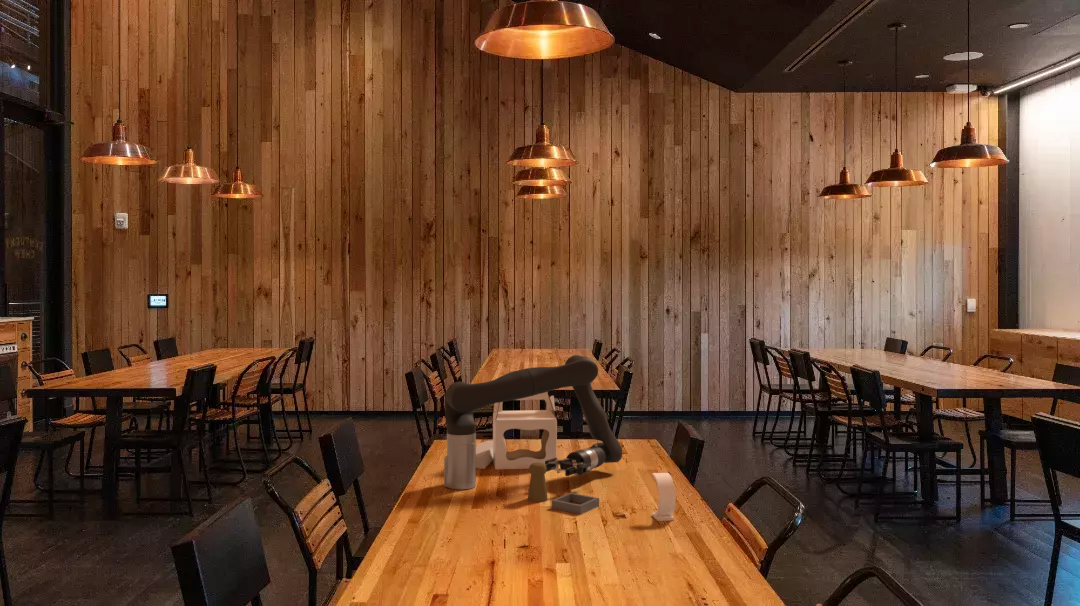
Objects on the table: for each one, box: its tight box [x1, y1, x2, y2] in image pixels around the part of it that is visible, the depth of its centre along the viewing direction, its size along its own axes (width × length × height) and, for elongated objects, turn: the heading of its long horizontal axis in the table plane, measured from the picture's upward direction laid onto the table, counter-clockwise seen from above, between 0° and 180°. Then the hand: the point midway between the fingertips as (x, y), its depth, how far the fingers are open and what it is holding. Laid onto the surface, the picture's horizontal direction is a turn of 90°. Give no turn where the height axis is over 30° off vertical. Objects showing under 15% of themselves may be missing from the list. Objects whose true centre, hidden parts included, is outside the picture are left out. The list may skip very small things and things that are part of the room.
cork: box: [527, 462, 549, 503], centre depth 223 cm, size 6×6×11 cm
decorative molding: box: [476, 436, 507, 469], centre depth 278 cm, size 34×5×10 cm
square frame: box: [551, 492, 600, 515], centre depth 215 cm, size 10×10×2 cm
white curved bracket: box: [651, 472, 677, 522], centre depth 205 cm, size 5×6×12 cm
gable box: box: [492, 392, 558, 470], centre depth 267 cm, size 22×13×28 cm, turn 97°
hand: (554, 470), depth 230 cm, fingers open, 8 cm apart
